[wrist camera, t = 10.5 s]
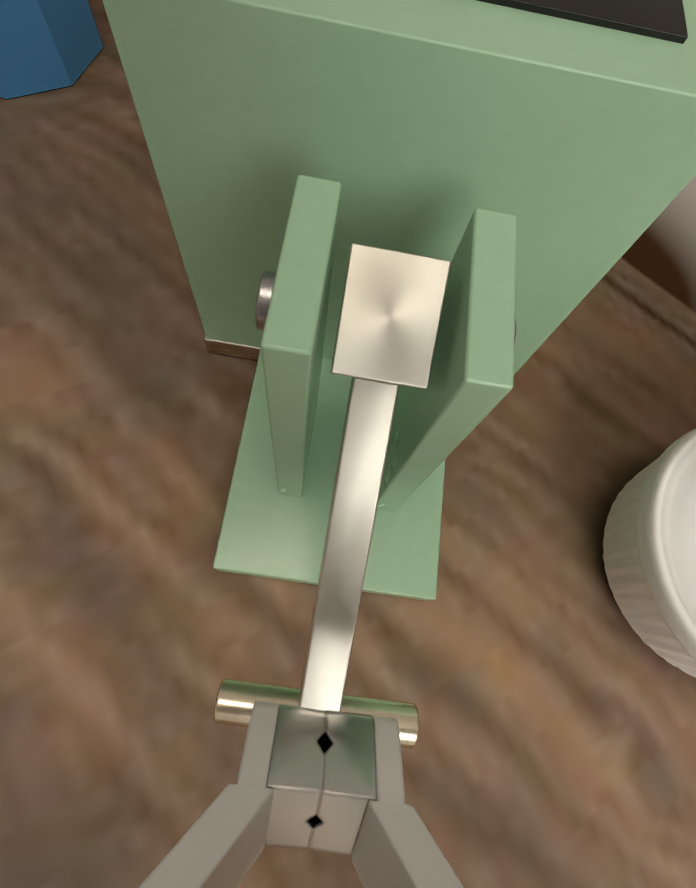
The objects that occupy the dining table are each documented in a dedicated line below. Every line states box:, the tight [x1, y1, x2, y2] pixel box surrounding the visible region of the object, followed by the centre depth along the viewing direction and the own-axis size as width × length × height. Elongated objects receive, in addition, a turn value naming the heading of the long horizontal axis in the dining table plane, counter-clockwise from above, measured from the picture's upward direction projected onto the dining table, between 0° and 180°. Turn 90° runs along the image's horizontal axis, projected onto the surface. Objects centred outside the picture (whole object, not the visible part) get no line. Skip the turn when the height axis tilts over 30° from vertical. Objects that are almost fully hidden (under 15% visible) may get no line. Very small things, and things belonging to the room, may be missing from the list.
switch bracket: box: [213, 175, 517, 601], centre depth 17 cm, size 11×9×13 cm
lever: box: [213, 243, 451, 748], centre depth 13 cm, size 12×5×2 cm, turn 172°
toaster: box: [102, 0, 696, 375], centre depth 19 cm, size 9×14×15 cm, turn 83°
